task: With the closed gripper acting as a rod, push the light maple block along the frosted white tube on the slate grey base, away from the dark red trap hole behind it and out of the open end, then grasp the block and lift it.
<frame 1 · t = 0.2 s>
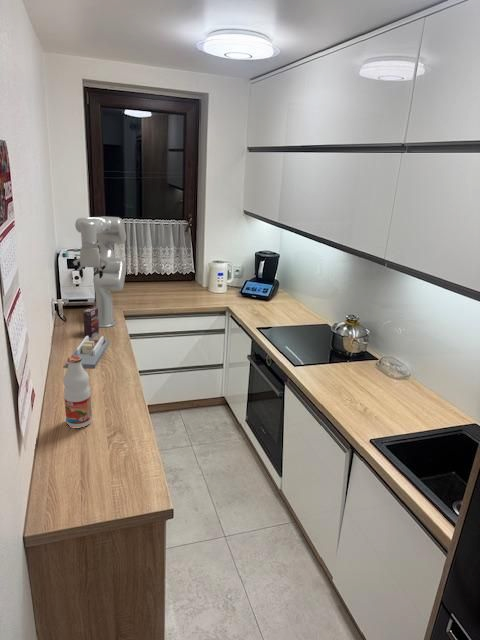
hand: (91, 277, 232), 36 cm above the counter, tool pointing down, fingers open, 9 cm apart
fruit juice: (79, 422, 171), on the counter
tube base: (89, 354, 227), on the counter
supplement box: (92, 336, 250), on the counter
maple block: (88, 351, 226), point 2 cm above the counter, touching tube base
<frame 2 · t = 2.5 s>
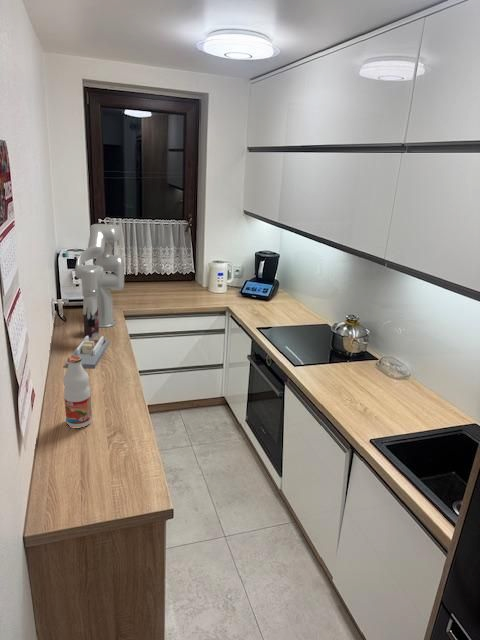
hand: (91, 326, 230), 13 cm above the counter, tool pointing down, fingers closed
nothing on the counter moved.
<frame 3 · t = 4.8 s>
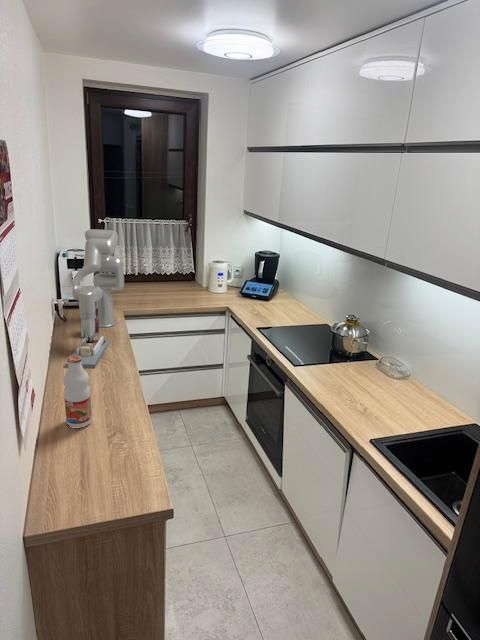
hand: (89, 347, 228), 3 cm above the counter, tool pointing down, fingers closed
maple block: (87, 353, 223), point 2 cm above the counter
everything else where it was.
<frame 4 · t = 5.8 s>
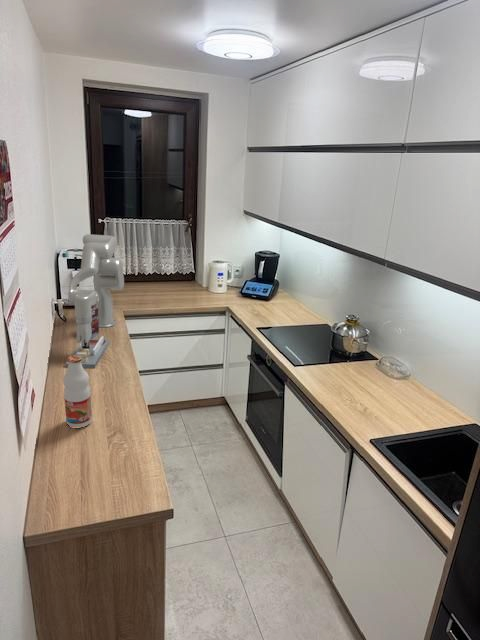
hand: (86, 353, 222), 3 cm above the counter, tool pointing down, fingers closed
maple block: (83, 359, 217), point 2 cm above the counter, touching gripper, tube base
everything else where it was.
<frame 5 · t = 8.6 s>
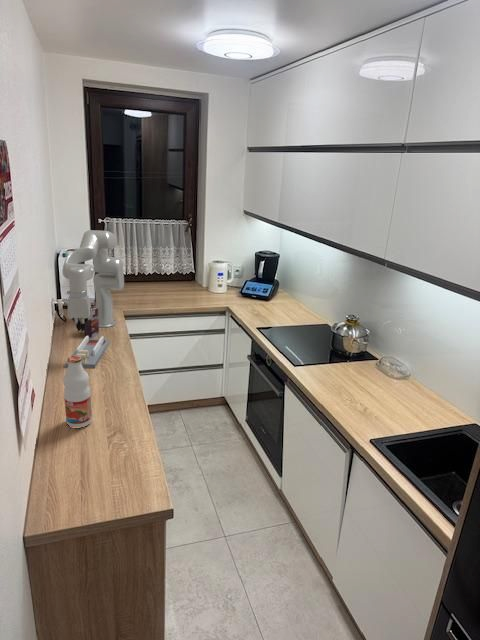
hand: (81, 330, 212), 18 cm above the counter, tool pointing down, fingers closed
maple block: (82, 360, 215), point 2 cm above the counter, touching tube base
everything else where it was.
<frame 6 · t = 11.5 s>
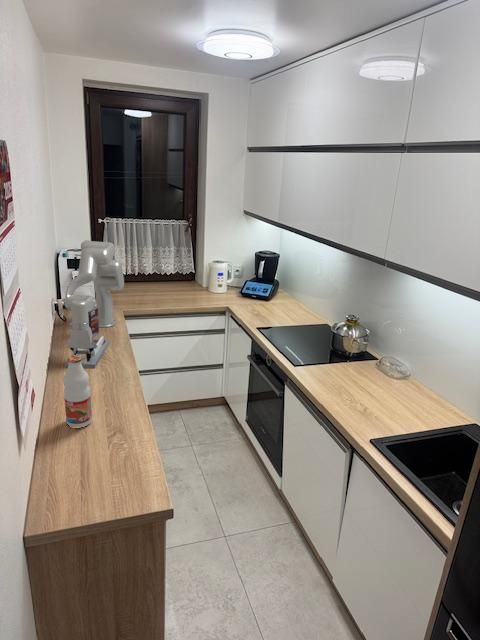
hand: (83, 359, 217), 2 cm above the counter, tool pointing down, fingers open, 4 cm apart
maple block: (82, 360, 215), point 2 cm above the counter, touching gripper, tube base
everything else where it was.
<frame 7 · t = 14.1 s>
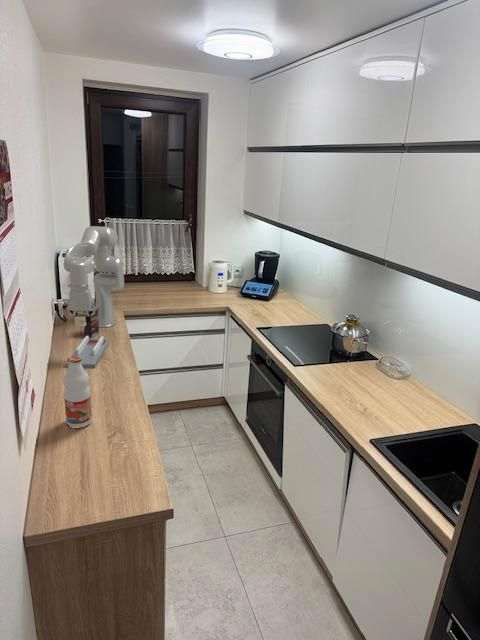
hand: (82, 322, 213), 20 cm above the counter, tool pointing down, fingers closed on maple block, 4 cm apart
maple block: (81, 324, 212), point 20 cm above the counter, touching gripper
everything else where it was.
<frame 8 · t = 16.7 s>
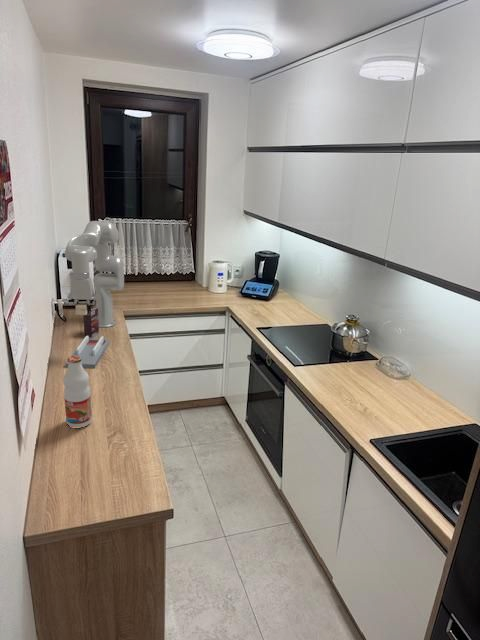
hand: (83, 311, 214), 25 cm above the counter, tool pointing down, fingers closed on maple block, 4 cm apart
maple block: (82, 312, 213), point 25 cm above the counter, touching gripper
everything else where it was.
at the end: the gripper is holding maple block; maple block inside the target area (0.5 cm from its centre), point 25.0 cm above the counter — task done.
